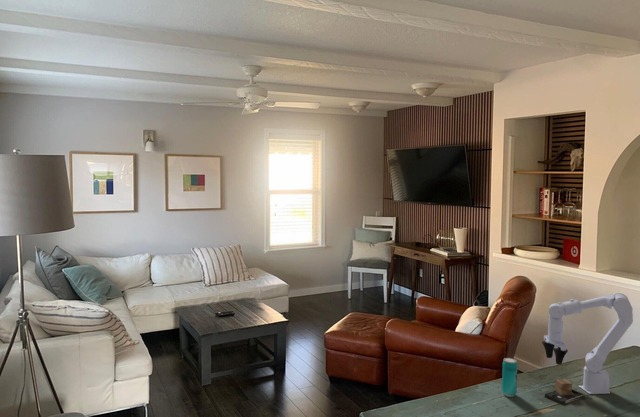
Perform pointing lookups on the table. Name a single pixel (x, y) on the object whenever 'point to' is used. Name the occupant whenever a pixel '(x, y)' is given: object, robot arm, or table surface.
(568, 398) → the vhs tape
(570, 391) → the walnut block
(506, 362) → the beverage can
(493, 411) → the table surface
